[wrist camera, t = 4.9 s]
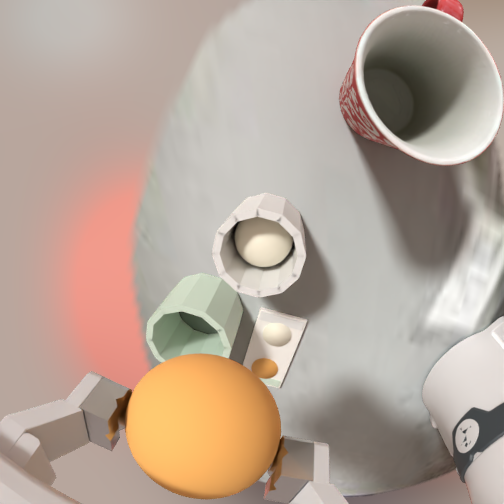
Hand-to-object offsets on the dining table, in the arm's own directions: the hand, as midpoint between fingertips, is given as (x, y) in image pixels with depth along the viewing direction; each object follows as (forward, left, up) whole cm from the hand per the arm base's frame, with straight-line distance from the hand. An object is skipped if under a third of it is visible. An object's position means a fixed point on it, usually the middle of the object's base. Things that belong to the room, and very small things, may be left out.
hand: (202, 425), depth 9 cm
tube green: (+4, +10, -23) cm, 25 cm away
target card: (-4, +13, -23) cm, 26 cm away
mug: (-7, -16, -23) cm, 29 cm away
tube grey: (0, 0, -23) cm, 23 cm away
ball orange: (0, 0, -3) cm, 3 cm away
